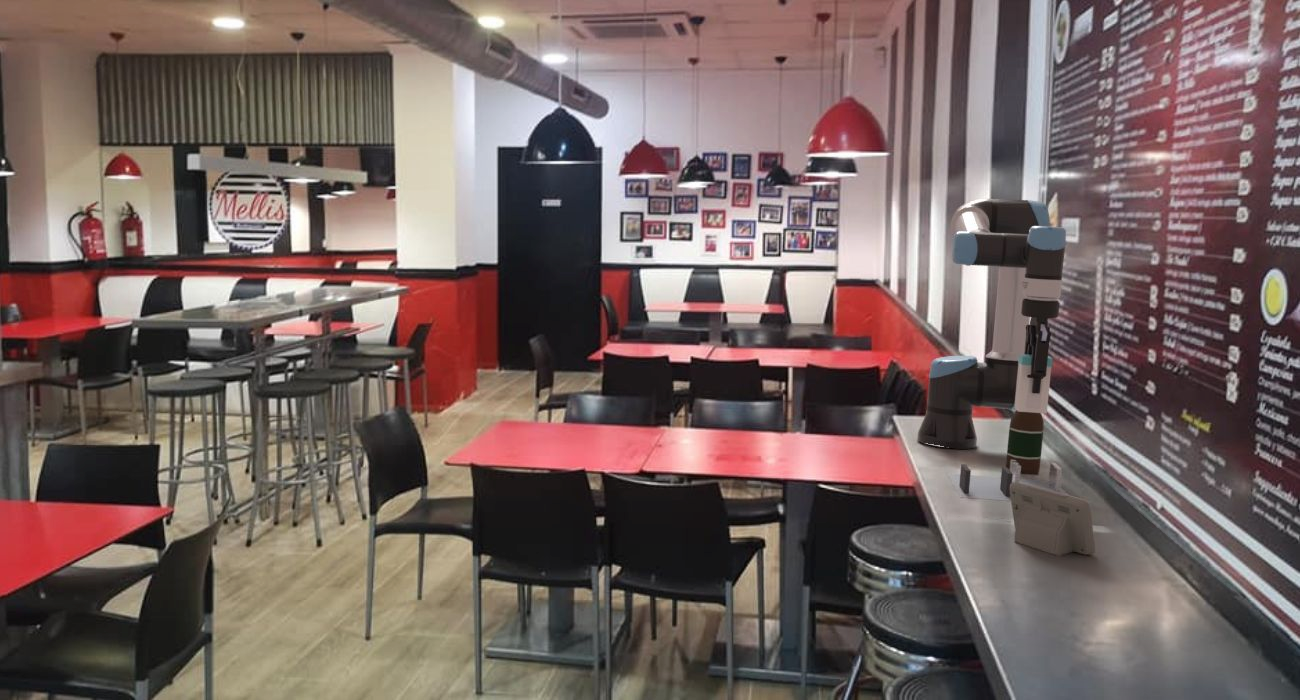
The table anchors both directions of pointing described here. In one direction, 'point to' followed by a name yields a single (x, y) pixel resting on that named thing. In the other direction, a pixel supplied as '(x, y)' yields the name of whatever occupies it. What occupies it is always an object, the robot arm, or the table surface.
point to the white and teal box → (1023, 382)
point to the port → (1053, 475)
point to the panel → (991, 487)
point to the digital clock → (1051, 520)
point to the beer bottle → (1025, 441)
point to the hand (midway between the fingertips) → (1030, 405)
